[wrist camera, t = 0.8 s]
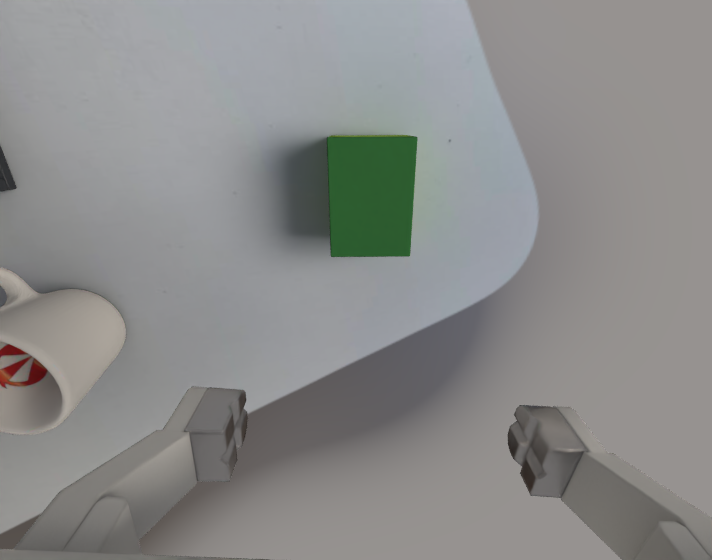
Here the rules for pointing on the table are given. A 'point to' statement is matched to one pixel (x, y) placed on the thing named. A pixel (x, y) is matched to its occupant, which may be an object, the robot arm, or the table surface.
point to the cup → (51, 352)
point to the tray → (5, 174)
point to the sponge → (371, 194)
